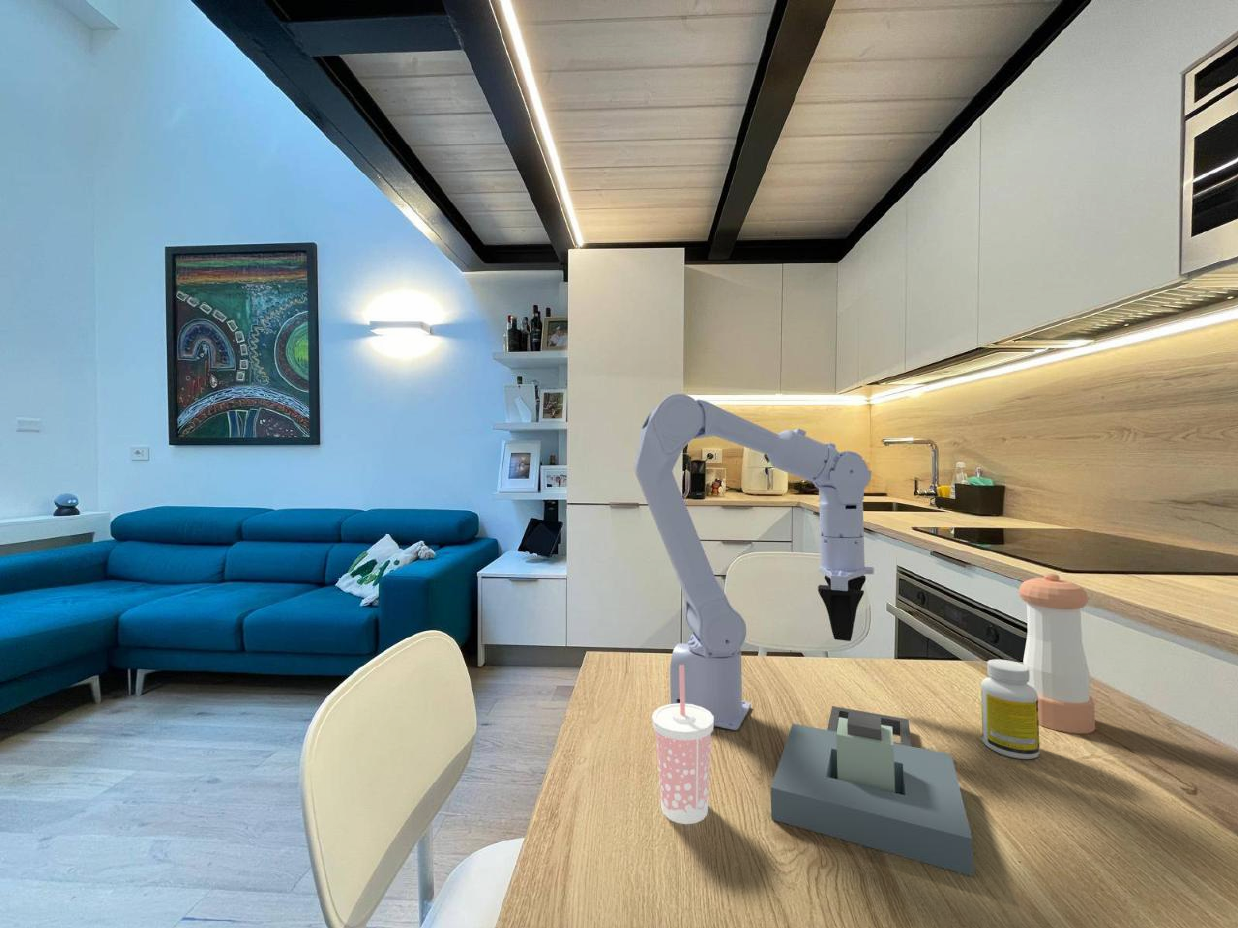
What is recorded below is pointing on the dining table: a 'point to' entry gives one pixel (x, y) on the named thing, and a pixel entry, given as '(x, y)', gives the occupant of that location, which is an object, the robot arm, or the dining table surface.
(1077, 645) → the pepper shaker
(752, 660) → the dining table surface
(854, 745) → the plug
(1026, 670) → the supplement bottle
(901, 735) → the grey rectangular frame
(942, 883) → the dining table surface
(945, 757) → the port block
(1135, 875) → the dining table surface
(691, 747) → the beverage cup
